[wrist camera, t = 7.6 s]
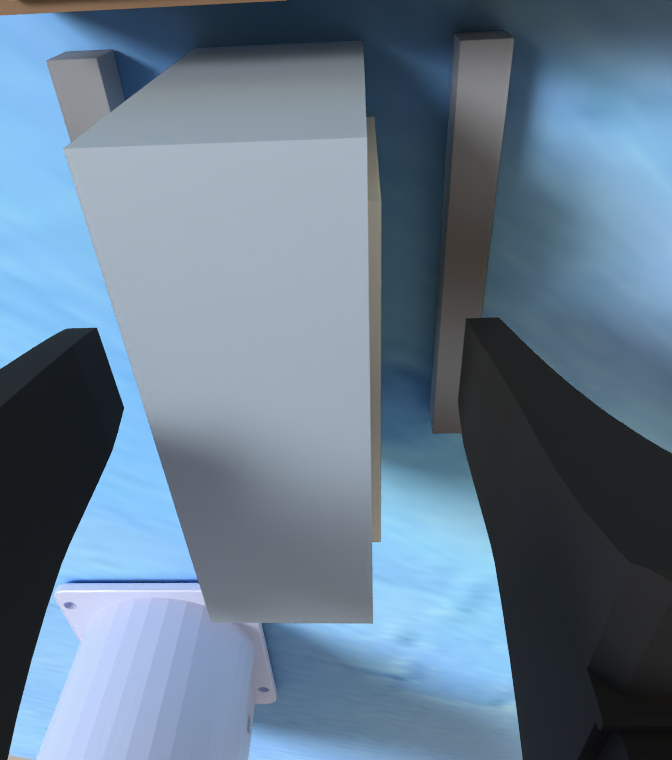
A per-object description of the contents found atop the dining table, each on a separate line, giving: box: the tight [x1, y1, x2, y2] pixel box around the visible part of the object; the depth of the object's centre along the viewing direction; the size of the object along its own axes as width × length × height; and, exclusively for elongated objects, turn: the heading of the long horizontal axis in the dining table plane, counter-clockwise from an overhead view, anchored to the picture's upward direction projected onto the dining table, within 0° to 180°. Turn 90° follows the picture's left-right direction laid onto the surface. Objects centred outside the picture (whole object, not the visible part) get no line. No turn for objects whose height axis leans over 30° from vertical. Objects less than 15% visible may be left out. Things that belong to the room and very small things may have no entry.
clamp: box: [0, 0, 515, 433], centre depth 13 cm, size 13×18×4 cm
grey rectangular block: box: [63, 40, 381, 623], centre depth 13 cm, size 10×4×7 cm, turn 3°
